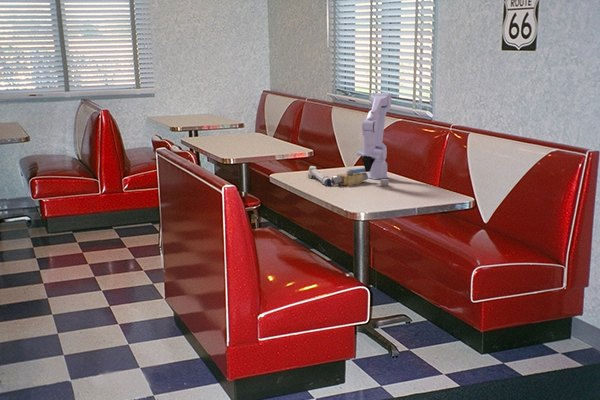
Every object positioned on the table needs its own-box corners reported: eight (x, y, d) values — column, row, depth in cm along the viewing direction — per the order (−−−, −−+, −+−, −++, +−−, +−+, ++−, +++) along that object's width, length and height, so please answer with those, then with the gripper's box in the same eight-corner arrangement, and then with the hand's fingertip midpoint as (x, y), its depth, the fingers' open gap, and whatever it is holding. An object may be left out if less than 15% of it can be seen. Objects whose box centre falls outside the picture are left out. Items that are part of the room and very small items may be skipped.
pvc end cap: (384, 184, 368) (384, 178, 367) (390, 185, 365) (390, 180, 364) (378, 185, 365) (378, 179, 365) (384, 186, 362) (384, 180, 362)
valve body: (360, 180, 378) (360, 171, 377) (369, 182, 372) (369, 173, 371) (329, 184, 365) (329, 175, 364) (338, 187, 359) (338, 177, 358)
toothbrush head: (323, 178, 360) (306, 163, 382) (322, 191, 363) (305, 175, 385) (333, 178, 362) (315, 163, 384) (332, 191, 364) (314, 175, 386)
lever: (345, 174, 368) (345, 169, 367) (366, 171, 376) (366, 167, 375) (349, 175, 365) (349, 170, 365) (370, 172, 373) (370, 168, 372)
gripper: (352, 143, 368) (352, 170, 371) (373, 146, 357) (372, 174, 360) (363, 142, 373) (362, 168, 376) (383, 145, 362) (382, 173, 365)
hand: (367, 171), depth 368 cm, fingers closed
